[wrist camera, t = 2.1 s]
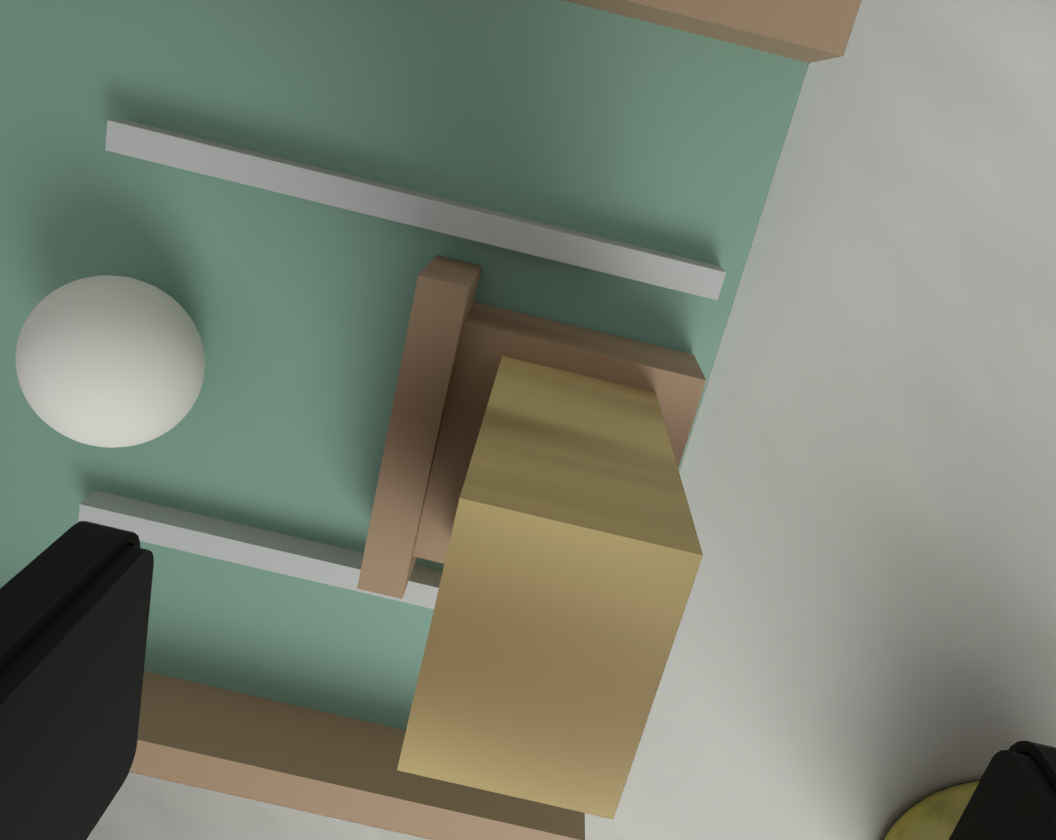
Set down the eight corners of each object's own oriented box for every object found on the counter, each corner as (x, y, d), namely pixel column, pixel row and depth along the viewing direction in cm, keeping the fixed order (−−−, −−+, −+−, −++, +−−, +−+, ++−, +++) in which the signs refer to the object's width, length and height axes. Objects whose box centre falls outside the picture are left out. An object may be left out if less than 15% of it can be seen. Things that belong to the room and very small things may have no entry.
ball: (220, 431, 21) (152, 492, 18) (70, 395, 21) (-28, 450, 18) (239, 284, 20) (170, 319, 16) (80, 245, 20) (-23, 273, 16)
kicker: (619, 592, 22) (649, 899, 13) (381, 536, 22) (255, 810, 13) (704, 320, 20) (804, 481, 11) (437, 255, 19) (329, 367, 11)
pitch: (574, 769, 25) (574, 871, 22) (-419, 542, 24) (-580, 612, 21) (810, 15, 19) (862, -6, 15) (-539, -330, 18) (-802, -434, 14)
